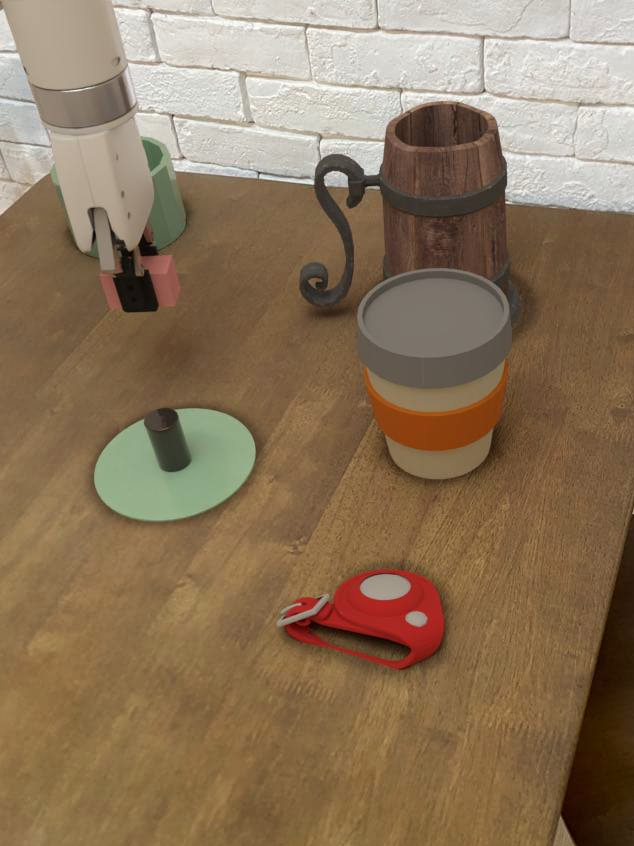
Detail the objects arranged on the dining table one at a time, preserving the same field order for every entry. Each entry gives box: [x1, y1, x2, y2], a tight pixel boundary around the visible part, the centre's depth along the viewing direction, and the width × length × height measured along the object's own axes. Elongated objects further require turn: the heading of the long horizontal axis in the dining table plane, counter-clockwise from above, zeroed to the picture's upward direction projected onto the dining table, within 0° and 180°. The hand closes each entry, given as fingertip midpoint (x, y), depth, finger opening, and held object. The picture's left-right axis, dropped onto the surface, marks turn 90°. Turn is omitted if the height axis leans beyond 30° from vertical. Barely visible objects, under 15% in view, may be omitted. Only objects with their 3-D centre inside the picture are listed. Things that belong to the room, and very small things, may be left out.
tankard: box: [298, 100, 522, 329], centre depth 91 cm, size 24×17×20 cm
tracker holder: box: [275, 569, 445, 670], centre depth 70 cm, size 12×4×10 cm
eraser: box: [99, 254, 181, 310], centre depth 85 cm, size 6×3×4 cm, turn 90°
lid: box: [93, 407, 257, 523], centre depth 83 cm, size 15×15×6 cm
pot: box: [49, 135, 187, 259], centre depth 111 cm, size 14×14×8 cm
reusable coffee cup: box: [356, 268, 513, 480], centre depth 79 cm, size 13×13×15 cm
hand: (145, 296), depth 86 cm, fingers closed on eraser, 3 cm apart
